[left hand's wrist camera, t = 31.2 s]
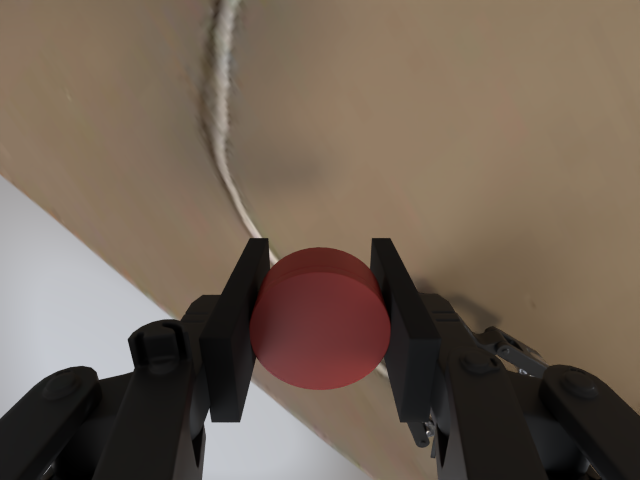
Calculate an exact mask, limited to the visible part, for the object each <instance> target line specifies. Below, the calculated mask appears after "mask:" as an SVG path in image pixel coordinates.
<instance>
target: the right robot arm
mask: <svg viewBox="0 0 640 480" xmlns="http://www.w3.org/2000/svg"><path fill="white" fill-rule="evenodd" d="M455 313H456V312H455ZM456 314H457V313H456ZM457 316H458V317H459V319H460V322H462V323H463V325H464V327H465V328H466V330H467V331H468V333H469V334H470V336H471V338H472V339H473V341H474V342H475V344H476V345H477V347H478V348H481V349H484V350H486V351H488V352H490V353H492V354H493V355H497V354H498V356H500V357H501V358H503V359H505V360H506V361H508V362H510V363H512V364H513V365H514V366H515V368H516V369H517V371H518V374H523V375H527V376H532V377H536V378H541V379H542V377H543V373H544V370H546V369H547V368H548V367H549V365H548V364H547V363H546V362H545V361H544V359H543V358H542V357H541V356H540V355H539V354H538V352H536V351H535V350H533V349H531V348H530V347H528V346H526V345H525V344H523V343H521V342H520V341H518V340H516V339H515V338H513V337H511V336H509V335H508V334H506V333H504V332H503V331H501V330H499V329H498V328H496V327H489V328H487V329H486V330H485V331H484V333H482V334H475V333H473V332H472V331H471V330H470V329H469V327H468V326H467V325H466V324H465V323H464V321H463V320H462V319H461V318H460V316H459V315H458V314H457ZM407 424H408V426H409V428H410V431H411V433H412V435H413V438H414V440H415V443H416V445H417V446H418V447H421V448H423V447H426V446H428V445H429V439H428V437H431V436H434V434H435V425H434V422H433V419H432V417H430V416H429V422H407Z"/></svg>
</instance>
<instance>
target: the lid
mask: <svg viewBox="0 0 640 480" xmlns="http://www.w3.org/2000/svg"><path fill="white" fill-rule="evenodd" d="M249 330H250V341H251V346H252V349H253V351H254V353H255V355H256V357H257V359H258V360H259V361H260V363H261V364H262V365H263V366H264V367H265V368H266V370H267V371H269V372H270V373H271V374H272V375H274V376H275V377H277V378H278V379H280V380H282V381H284V382H286V383H288V384H291V385H294V386H297V387H301V388H305V389H313V390H326V389H334V388H340V387H343V386H347V385H349V384H352V383H354V382H356V381H358V380H360V379H362V378H363V377H365V376H366V375H368V374H369V373H370V372H371V371H372V370H374V369H375V368H376V367H377V365H378V364H379V363H380V362H381V360H382V359H383V357H384V356H385V354H386V351H387V349H388V346H389V343H390V333H391V322H390V317H389V314H388V311H387V308H386V305H385V302H384V299H383V295H382V292H381V289H380V286H379V283H378V281H377V279H376V277H375V275H374V274H373V273H372V271H371V270H370V269H369V268H368V267H367V266H366V265H365V264H364V263H363V262H362V261H360V260H359V259H358V258H356V257H354V256H353V255H351V254H348V253H346V252H344V251H340V250H337V249H332V248H320V247H316V248H308V249H303V250H300V251H297V252H294V253H292V254H290V255H288V256H286V257H284V258H283V259H281V260H280V261H278V262H277V263H276V264H275V265H274V266H273V267H272V268H271V269H270V270H269V271H268V273H267V274H266V276H265V277H264V279H263V281H262V284H261V286H260V289H259V292H258V296H257V299H256V302H255V305H254V308H253V311H252V314H251V318H250V322H249Z"/></svg>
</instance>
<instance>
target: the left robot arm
mask: <svg viewBox="0 0 640 480" xmlns="http://www.w3.org/2000/svg"><path fill="white" fill-rule="evenodd" d="M269 270H270V260H269V243H268V238H250V239H249V241H248V243H247V245H246V247H245V249H244V251H243V253H242V255H241V257H240V259H239V261H238V263H237V264H236V266H235V268H234V270H233V272H232V274H231V276H230V278H229V280H228V282H227V284H226V286H225V288H224V290H223V292H222V294H221V295H202V296H201V297H199V298H198V299H197V300H195V301H194V302H193V303H191V305H190V306H189V308H188V310H187V311H186V314H185V315H184V316H183V317H182V319H181V321H178V320H174V319H167V320H159V321H155V322H151V323H149V324H147V325H144V326H142V327H140V328H139V329H138V330H136V331H135V332H133V333H132V335H131V336H130V337H129V338H128V343H129V347H130V351H131V355H132V359H133V363H134V367H135V369H134V371H133V372H130V373H127V374H124V375H119V376H115V377H110V378H106V379H101V380H99V379H98V376H97V372H96V371H95V370H93V369H92V368H91V367H85V366H78V367H70V368H67V369H64V370H60V371H57V372H55V373H53V374H52V375H50V376H48V377H46V378H44V379H43V380H41V381H40V382H39V383H38V384H36V385H35V386H34V387H33V388H32V389H31V390H30V391H29V392H28V393H26V394H25V395H24V396H23V397H22V398H21V399H20V400H19V401H18V402H17V403H16V404H15V405H14V406H13V407H12V408H11V409H10V410H9V411H8V412H7V413H6V414H5V415H4V416H3V417H2V418H1V419H0V480H202V473H203V462H204V451H205V441H206V434H205V428H204V421H205V418H206V416H207V413H208V410H209V408H210V415H211V421H212V422H240V420H241V416H242V412H243V408H244V404H245V400H246V396H247V392H248V388H249V384H250V380H251V376H252V372H253V368H254V364H255V360H256V355H255V353H254V351H253V349H252V346H251V341H250V330H249V322H250V318H251V314H252V311H253V308H254V305H255V302H256V299H257V296H258V292H259V289H260V286H261V284H262V281H263V279H264V277H265V276H266V274H267V273H268V271H269ZM370 270H371V271H372V273H373V274H374V275H375V277H376V279H377V281H378V283H379V286H380V289H381V292H382V295H383V299H384V302H385V305H386V308H387V311H388V314H389V317H390V322H391V333H390V343H389V346H388V349H387V351H386V354H385V356H384V359H385V363H386V367H387V371H388V375H389V379H390V383H391V387H392V391H393V395H394V399H395V403H396V407H397V411H398V415H399V419H400V422H429V416H430V410H431V408H432V411H433V413H434V416H435V419H436V428H435V434H434V440H433V445H432V452H431V458H435V456H436V461H437V472H438V480H640V416H639V415H638V414H637V413H636V412H635V411H634V410H633V409H632V408H631V407H630V406H629V405H628V404H626V403H625V402H624V401H623V400H622V399H621V398H620V397H619V396H618V395H617V394H616V393H615V392H614V391H613V390H612V389H611V388H610V387H609V386H608V385H607V384H605V383H604V382H603V381H601V380H600V379H599V378H597V377H596V376H594V375H592V374H590V373H588V372H586V371H584V370H582V369H579V368H576V367H572V366H567V365H553V366H549V367H548V368H547V369H546V370H544V373H543V377H542V379H541V378H536V377H532V376H527V375H523V374H518V373H515V372H511V371H508V370H506V368H505V366H504V365H503V363H502V362H501V360H500V359H498V358H497V357H496V356H495V355H493V354H492V353H490V352H488V351H486V350H484V349H481V348H478V347H477V345H476V344H475V342H474V341H473V339H472V338H471V336H470V334H469V333H468V331H467V330H466V328H465V327H464V325H463V323H462V322H460V319H459V317H458V316H457V314H456V313H455V311H454V309H453V308H452V306H451V305H450V303H449V302H448V301H447V300H445V299H444V298H442V297H441V296H440V295H438V294H419V293H418V291H417V289H416V287H415V286H414V284H413V282H412V280H411V278H410V276H409V274H408V272H407V270H406V268H405V266H404V264H403V262H402V260H401V258H400V256H399V254H398V252H397V250H396V248H395V246H394V245H393V243H392V241H391V239H390V238H372V246H371V263H370ZM590 464H591V465H592V466H593V468H594V469H595V470H596V472H597V473H598V474H599V475H598V474H597V473H596V472H595V471H594V469H593V468H592V467H591V466H590ZM50 465H51V467H50ZM49 467H50V468H49ZM48 468H49V469H48ZM47 469H48V470H47ZM46 471H47V472H46ZM45 472H46V473H45ZM44 473H45V474H44ZM43 474H44V475H43Z"/></svg>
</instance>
